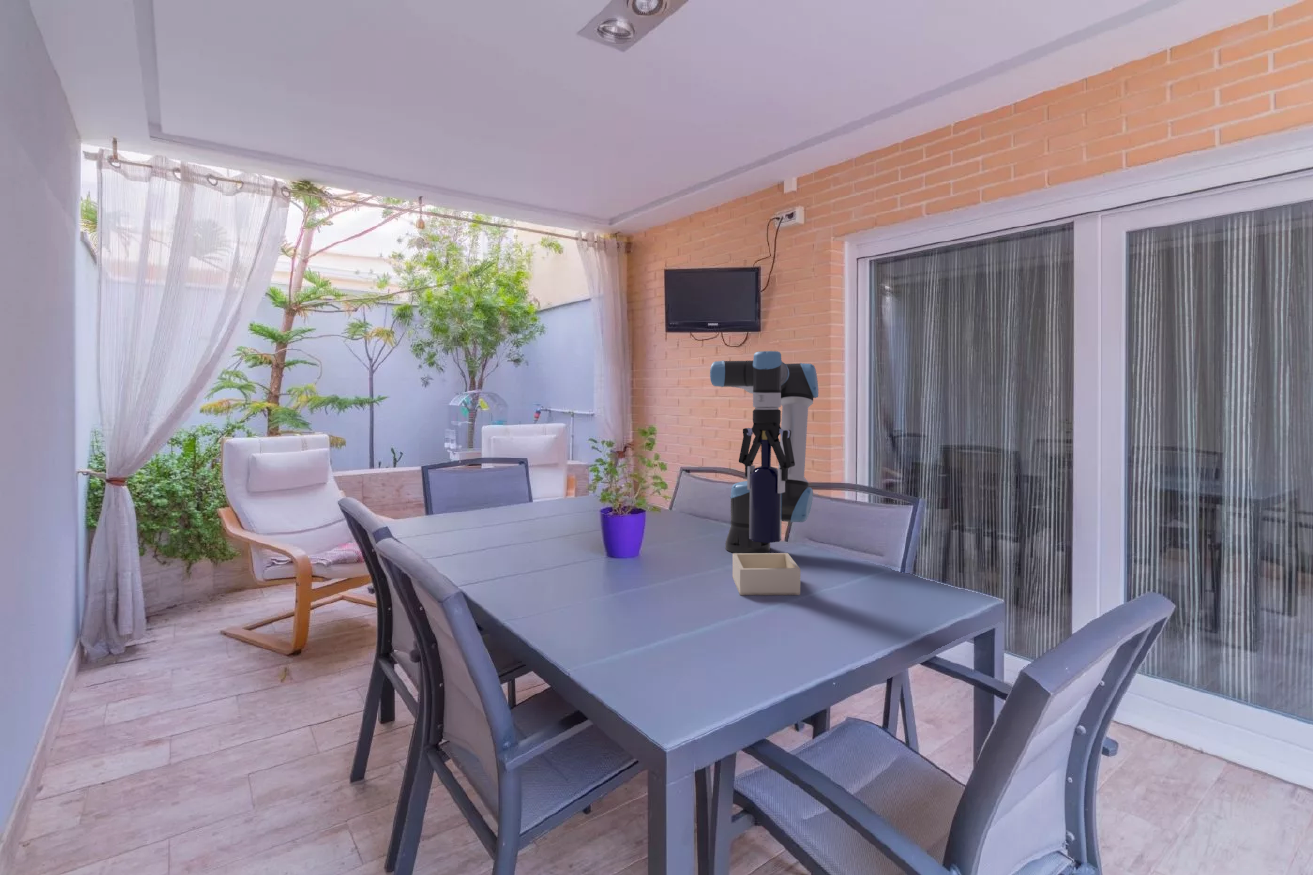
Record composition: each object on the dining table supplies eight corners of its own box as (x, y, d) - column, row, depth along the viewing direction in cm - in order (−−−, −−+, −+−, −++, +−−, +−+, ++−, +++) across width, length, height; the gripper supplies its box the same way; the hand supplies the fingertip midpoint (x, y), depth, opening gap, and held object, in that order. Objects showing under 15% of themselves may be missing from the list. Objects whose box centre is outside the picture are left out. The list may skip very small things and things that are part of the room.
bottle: (761, 533, 181) (762, 428, 178) (788, 538, 174) (790, 430, 172) (741, 538, 175) (742, 430, 172) (769, 544, 168) (770, 432, 165)
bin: (732, 576, 184) (732, 553, 183) (787, 576, 184) (787, 553, 183) (739, 595, 168) (740, 569, 167) (800, 595, 168) (800, 569, 167)
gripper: (725, 408, 176) (725, 488, 177) (796, 409, 162) (794, 497, 164) (740, 407, 181) (739, 485, 183) (809, 409, 168) (808, 493, 169)
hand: (765, 490), depth 173 cm, fingers closed on bottle, 9 cm apart
